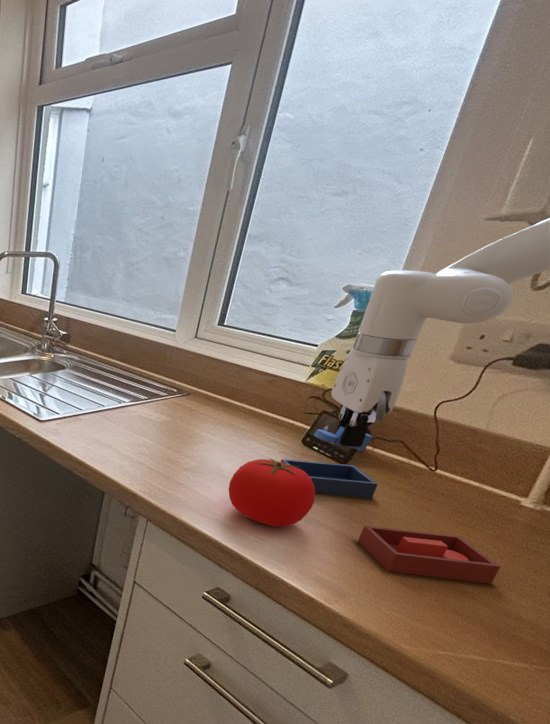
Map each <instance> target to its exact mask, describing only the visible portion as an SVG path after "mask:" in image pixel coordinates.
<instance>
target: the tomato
mask: <svg viewBox="0 0 550 724" xmlns="http://www.w3.org/2000/svg"><path fill="white" fill-rule="evenodd" d="M296 467H300V466H296ZM296 467H294V466H293V465H288V464H285V463H282V462H281V461H277V460H274V459H272V458H270V457H268V459H264V458H260V459H254V460H251V461H250V460H249V461H248V462H245V463H243V464H242V465H241V466H239V468H237V470H236V471H235V472H234V473H233V475H232V477H231V478H230V481H229V484H228V497H229V501H230V503H231V505H232V506H233V507H234V509H236V511H237V512H238V513H240V514H242V515H243V516H244V517H246V518H248V519H250V520H252V521H255V522H257V523H260V524H263V525H267V526H270V527H271V526H273V527H288V526H293V525H294V524H297V523H298V522H300V521H302V520H303V519H304V518H305V517H306V515H308V513H309V512H310V511H311V509H312V508H313V505H314V502H315V498H316V497H315V495H316V493H315V489H314V484H313V482H312V479H311V478H310V477H309V475H308V474H307V473H306V472H304V471H303V470H301V469H298V468H296Z"/></svg>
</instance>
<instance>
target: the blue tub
mask: <svg viewBox="0 0 550 724" xmlns="http://www.w3.org/2000/svg"><path fill="white" fill-rule="evenodd" d="M280 462H282V463H285V464H288V465H293V466H294V467H296V466H300V467H296V468H298V469H301V470H303V471H304V472H306V473H307V474H308V475H309V477H310V478H311V479H312V482H313V484H314V489H315V494H325V495H326V494H327V495H333V496H334V495H336V496H345V497H353V498H366V499H373V497H374V495H375V492H376V489H377V487H378V485H379V484H378V483H377V482H376V481H375V480H373V479H372V478H371V477H369V475H367V474H365V473H364V472H363V471H361V470H360V469H359V468H357V466H356V465H354V464H343V463H342V464H341V463H331V462H319V461H308V460H295V459H285V458H284V459H283V458H281V460H280Z"/></svg>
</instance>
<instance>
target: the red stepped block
mask: <svg viewBox="0 0 550 724" xmlns="http://www.w3.org/2000/svg"><path fill="white" fill-rule="evenodd" d="M447 547H448V546H447V545H446V544H444V543H443V542H442V541H437V540H428V539H419V538H410V537H402V539H401V541H400V544H399V546H398V548H397V552H398V553H406V554H414V555H423V556H431V557H440V558H448V559H457V560H465V561H469V560H468V558H467V557H465V556H464V555H462V554H460V553H458V552H455V551H452V550H447Z"/></svg>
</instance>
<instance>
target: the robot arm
mask: <svg viewBox="0 0 550 724" xmlns="http://www.w3.org/2000/svg"><path fill="white" fill-rule="evenodd" d="M548 271H550V217H548V218H546V219H544V220H541V221H539V222H537V223H534V224H533V225H529V226H528V227H526V228H524V229H521V230H518V231H517V232H515V233H512V234H509V235H507V236H504V237H503V238H500V239H498V240H496V241H493V242H491V243H489V244H487V245H485V246H483V247H482V248H480V249H478V250H476V251H474V252H472V253H470V254H468V255H466V256H464V257H463V258H461V259H458V260H456V262H453V263H451V264H450V265H448V266H446V267H444V268H442V269H441V270H439V271H438V272H437V273H433V272H429V271H423V270H422V271H421V270H411V269H410V270H409V269H407V270H406V269H395V270H386V271H384V272H382V273H381V274H379V276H378V277H377V279H376V281H375V283H374V286H373V289H372V291H371V294H370V297H369V301H368V303H367V306H366V309H365V312H364V315H363V317H362V320H361V323H360V326H359V329H358V332H357V334H356V337H355V340H354V342H353V346H352V348H351V349H350V351H349V352H348V354H347V356H346V357H345V359H344V361H343V363H342V365H341V367H340V369H339V372H338V374H337V377H336V379H335V382H334V384H333V386H332V388H331V393H330V395H331V397H332V399H333V400H335V402H338V404H339V405H340V412H339V415H338V418H339V421H338V424H337V426H336V429H335V431H334V433H333V434H334V435H335V434H336V432H337V431H338V429H339V428H340V427H341V426H342V427H345V429H344V432H343V434H342V437H341V440H340V444H341V446H343V447H347V446H354V447H360V446H362V443H363V441H364V438H365V435H366V434H368V431H369V429H370V428H372V426H373V424H383V423H384V421H385V415H389V414H390V413H391V412H392V411H393V409H394V407H395V405H396V402H397V401H398V397H399V395H400V392H401V389H402V386H403V382H404V379H405V376H406V371H407V366H408V361H409V359H410V358H411V356H412V354H413V351H414V348H415V345H416V343H417V341H418V339H419V336H420V333H421V330H422V328H423V326H424V323H425V321H426V319H427V318H428V319H434V320H439V321H440V320H441V321H446V322H452V323H456V324H457V323H458V324H470V325H471V324H480V323H485V322H487V321H490V320H493V319H496V318H497V317H499V316H501V315H502V314H504V313H505V312H506V311H507V310H509V308H510V306H511V305H512V304H513V300H514V291H513V288H512V286H511V285H513V284H515V283H517V282H519V281H521V280H524V279H527V278H529V277H532V276H535V275H538V274H541V273H543V272H544V273H545V272H548ZM340 444H339V445H340Z"/></svg>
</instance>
